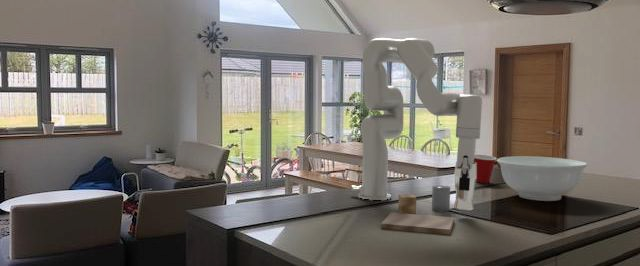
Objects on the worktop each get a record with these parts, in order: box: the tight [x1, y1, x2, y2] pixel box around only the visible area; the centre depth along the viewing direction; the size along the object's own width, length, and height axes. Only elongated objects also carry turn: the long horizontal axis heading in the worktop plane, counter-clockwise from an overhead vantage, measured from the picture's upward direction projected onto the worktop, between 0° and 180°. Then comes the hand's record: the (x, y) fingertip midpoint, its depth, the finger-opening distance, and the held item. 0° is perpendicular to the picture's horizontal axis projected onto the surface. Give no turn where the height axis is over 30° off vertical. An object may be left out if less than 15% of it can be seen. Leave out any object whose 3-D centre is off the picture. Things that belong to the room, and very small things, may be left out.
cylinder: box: [431, 184, 451, 213], centre depth 194 cm, size 6×6×8 cm
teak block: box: [397, 193, 417, 214], centre depth 188 cm, size 5×5×6 cm
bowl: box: [496, 155, 588, 202], centre depth 218 cm, size 32×32×15 cm
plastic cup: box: [474, 154, 498, 184], centre depth 252 cm, size 11×11×12 cm
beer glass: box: [453, 160, 477, 211], centre depth 182 cm, size 7×7×15 cm
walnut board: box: [380, 212, 455, 235], centre depth 172 cm, size 20×16×2 cm
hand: (464, 187), depth 182 cm, fingers closed on beer glass, 6 cm apart
